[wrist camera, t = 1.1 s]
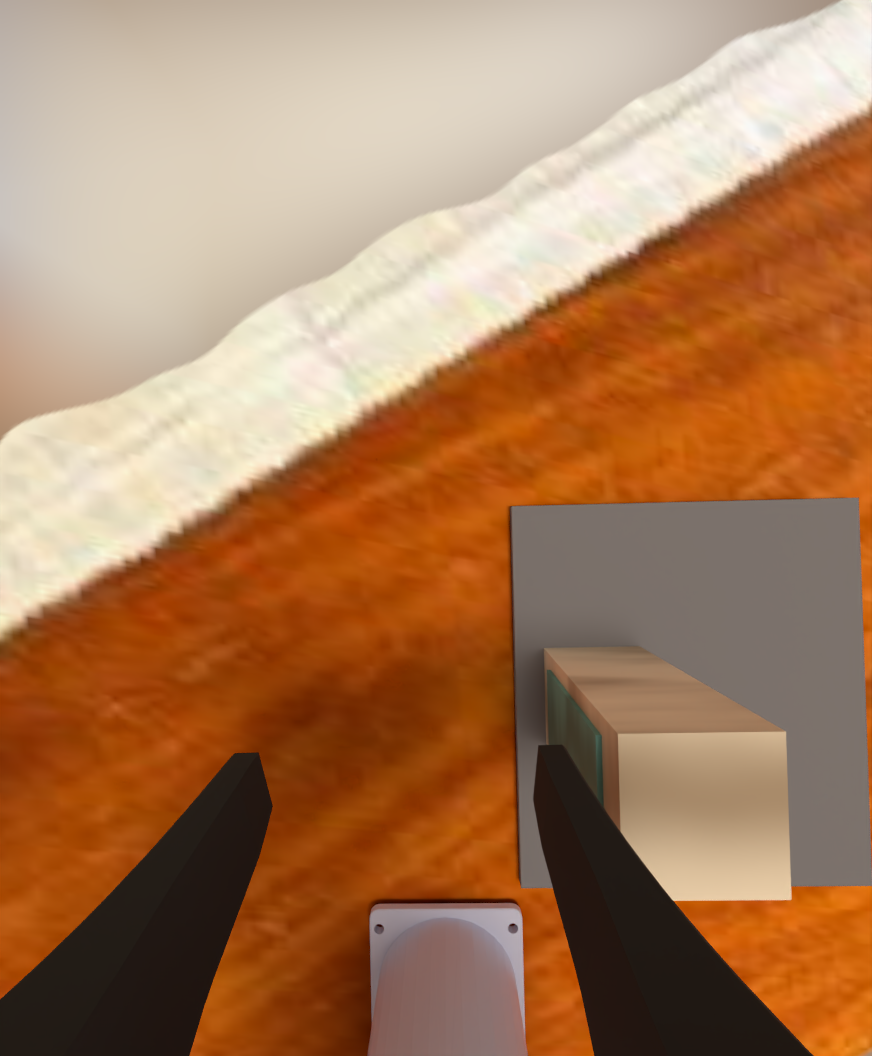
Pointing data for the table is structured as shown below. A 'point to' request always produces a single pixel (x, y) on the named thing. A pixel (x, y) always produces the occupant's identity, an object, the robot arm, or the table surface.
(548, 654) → the maple block
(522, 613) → the rubber mat
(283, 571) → the table surface
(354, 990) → the table surface
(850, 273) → the table surface
